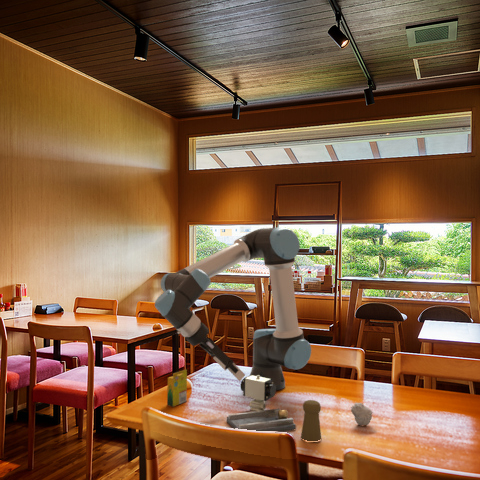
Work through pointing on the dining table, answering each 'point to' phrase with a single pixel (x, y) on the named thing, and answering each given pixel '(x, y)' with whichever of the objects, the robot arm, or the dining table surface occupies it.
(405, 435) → the dining table surface
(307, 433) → the olive pepper shaker
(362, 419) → the gray rock
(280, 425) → the grey tray
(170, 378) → the crayon box
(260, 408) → the pneumatic valve
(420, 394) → the dining table surface
